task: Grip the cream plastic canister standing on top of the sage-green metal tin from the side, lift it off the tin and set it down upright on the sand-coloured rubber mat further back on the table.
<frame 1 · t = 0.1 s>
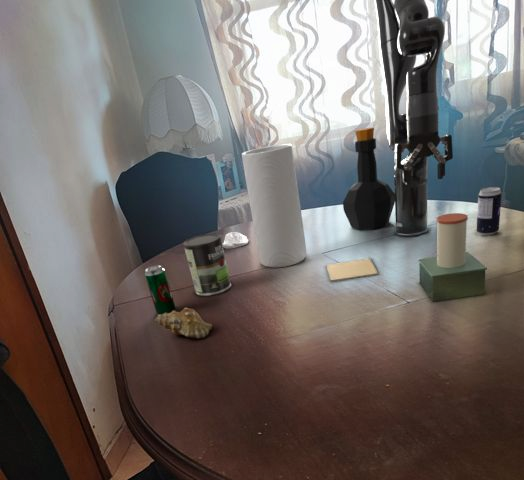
hand: (423, 181, 123), 17 cm above the table, tool pointing down, fingers open, 8 cm apart
tin: (450, 288, 103), on the table, touching canister
seashell: (186, 335, 106), on the table
canister: (450, 263, 100), point 6 cm above the table, touching tin
white lumpy mound: (235, 245, 165), on the table
mat: (351, 270, 123), on the table
beverage can: (487, 233, 130), on the table
coffee can: (213, 289, 129), on the table
soda can: (166, 312, 120), on the table
vase: (283, 260, 140), on the table
bottle: (370, 225, 157), on the table
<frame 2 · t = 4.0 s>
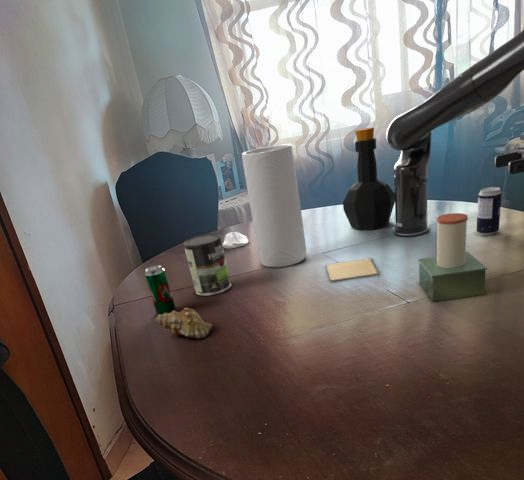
hand: (502, 165, 90), 25 cm above the table, tool horizontal, fingers open, 8 cm apart
nothing on the table moved.
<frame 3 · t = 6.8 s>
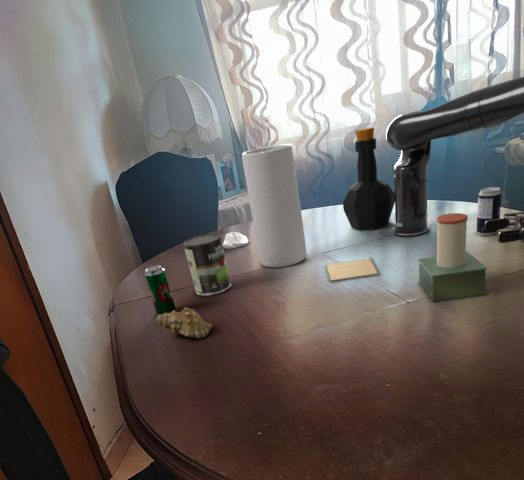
hand: (491, 231, 96), 12 cm above the table, tool horizontal, fingers open, 8 cm apart
nothing on the table moved.
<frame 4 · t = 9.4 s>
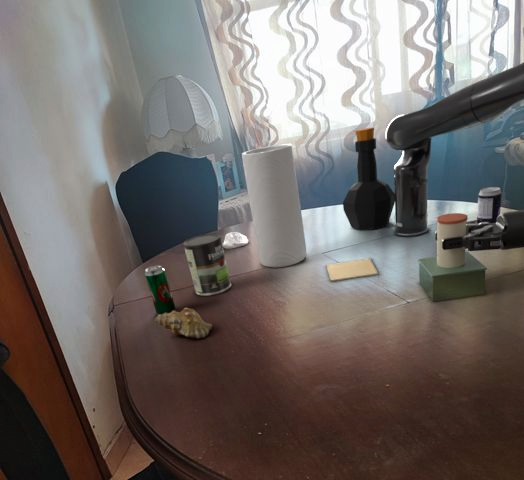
hand: (439, 240, 98), 12 cm above the table, tool horizontal, fingers closed on canister, 5 cm apart
canister: (450, 263, 100), point 6 cm above the table, touching gripper, tin
everything else where it was.
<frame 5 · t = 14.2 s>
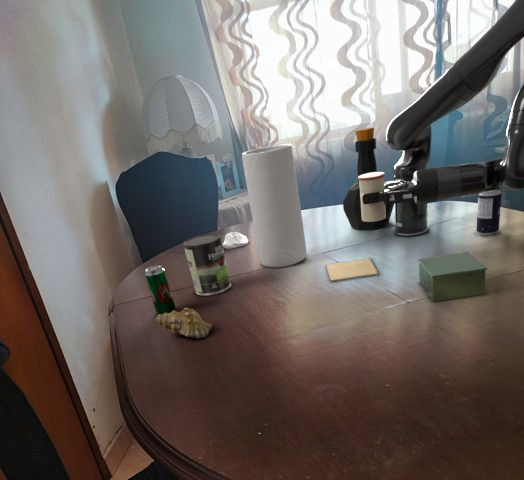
hand: (361, 196, 108), 20 cm above the table, tool horizontal, fingers closed on canister, 5 cm apart
tin: (450, 288, 103), on the table
canister: (373, 218, 110), point 14 cm above the table, touching gripper
everything else where it was.
when the fingers open (6 cm above the table, at t = 18.8 s): canister stays where it is, resting on mat.
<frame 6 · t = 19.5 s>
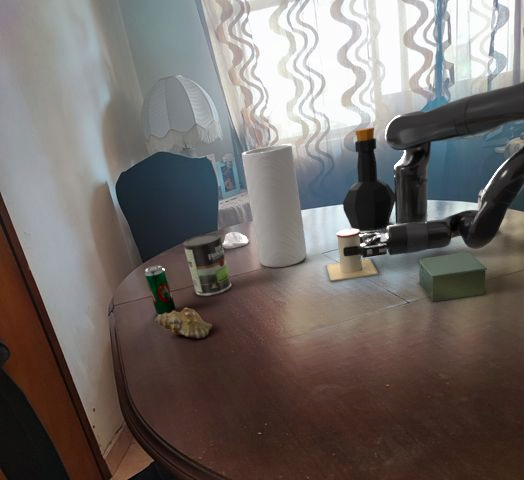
hand: (342, 246, 120), 7 cm above the table, tool horizontal, fingers open, 8 cm apart
canister: (351, 268, 123), resting on mat
everything else where it was.
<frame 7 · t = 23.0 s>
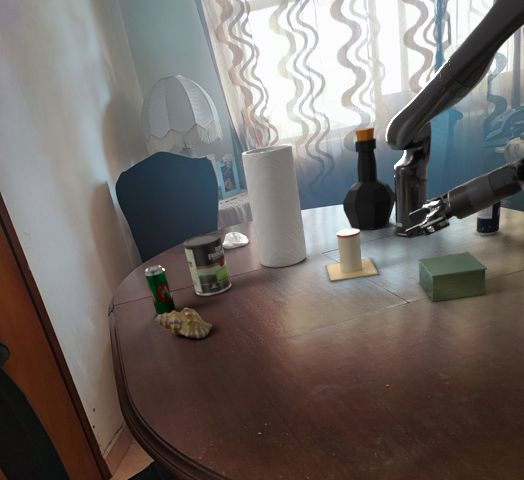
hand: (408, 226, 118), 9 cm above the table, tool tilted 65°, fingers open, 8 cm apart
nothing on the table moved.
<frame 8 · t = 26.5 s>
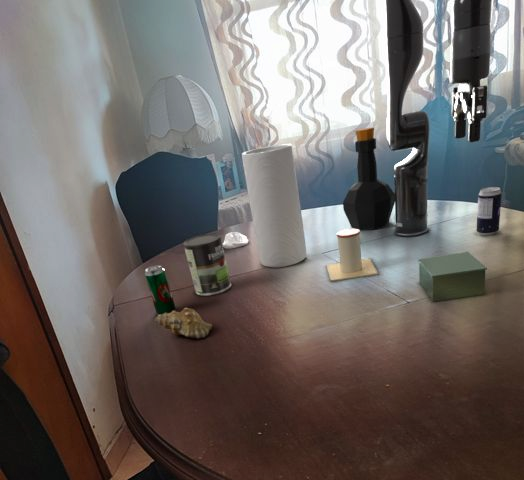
hand: (466, 139, 103), 28 cm above the table, tool pointing down, fingers open, 8 cm apart
nothing on the table moved.
at the end: canister inside the target area on the mat (0.1 cm from its centre), point 0.4 cm above the mat's base; canister tilted 0°; tin moved 0.0 cm from its start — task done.
